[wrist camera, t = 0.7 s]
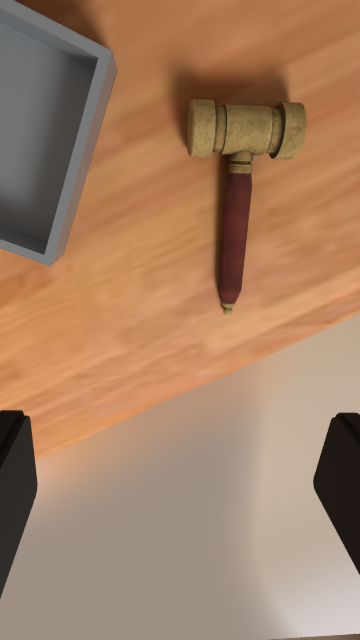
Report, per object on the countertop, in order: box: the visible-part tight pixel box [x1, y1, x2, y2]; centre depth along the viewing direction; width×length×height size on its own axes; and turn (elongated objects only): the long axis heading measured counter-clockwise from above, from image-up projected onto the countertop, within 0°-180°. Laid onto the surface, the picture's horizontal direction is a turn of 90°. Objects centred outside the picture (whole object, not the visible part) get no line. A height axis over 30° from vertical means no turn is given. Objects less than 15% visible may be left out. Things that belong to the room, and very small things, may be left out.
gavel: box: [187, 99, 307, 315], centre depth 35 cm, size 21×5×10 cm
